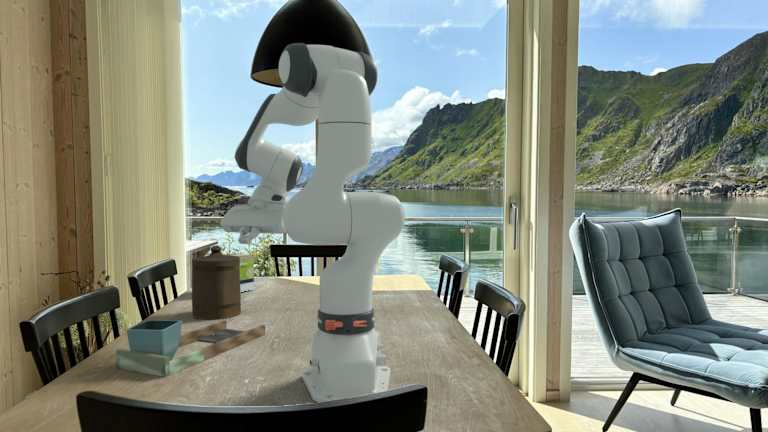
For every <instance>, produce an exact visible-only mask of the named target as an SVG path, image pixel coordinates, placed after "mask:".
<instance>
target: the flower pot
mask: <svg viewBox="0 0 768 432" xmlns="http://www.w3.org/2000/svg"><path fill="white" fill-rule="evenodd" d="M182 322H183V321H182V320H178V319H177V320H176V319H174V320H173V319H172V320H170V319H169V320H168V319H167V320H166V319H164V320H163V319H148V320H145V321H142V322H140V323H137V324H136V325H133V326H131V327H129V328H126V336H127V341H128V346H129V350H130V351H137V352H143V353H150V354H156V355H163V356H169V357H170V361H171V360H173V358H174V356H175V355H176V353H177V351H178V348H179V347H178V346H179V342H180V335H182V334H181V332H182Z"/></svg>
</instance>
